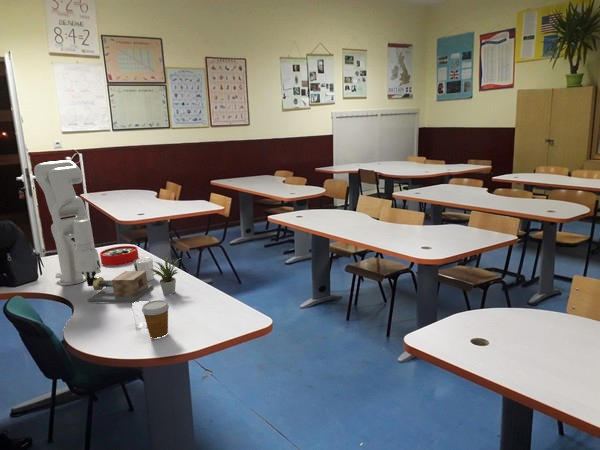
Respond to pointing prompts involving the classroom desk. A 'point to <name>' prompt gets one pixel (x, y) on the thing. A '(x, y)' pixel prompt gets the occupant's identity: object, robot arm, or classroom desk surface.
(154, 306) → the disposable coffee cup
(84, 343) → the classroom desk surface
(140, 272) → the block
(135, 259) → the mobile phone
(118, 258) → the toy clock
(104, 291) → the base mat
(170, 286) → the house plant
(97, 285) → the shaft
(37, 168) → the robot arm
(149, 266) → the white cup
